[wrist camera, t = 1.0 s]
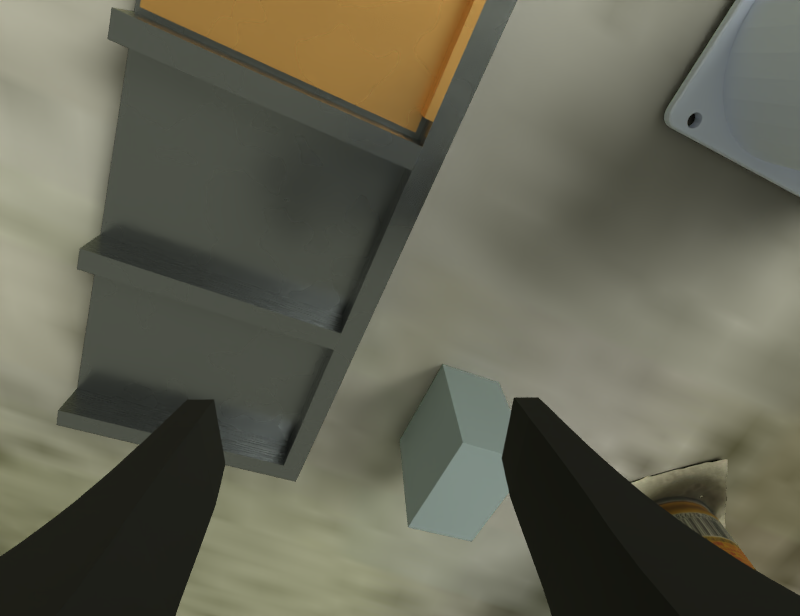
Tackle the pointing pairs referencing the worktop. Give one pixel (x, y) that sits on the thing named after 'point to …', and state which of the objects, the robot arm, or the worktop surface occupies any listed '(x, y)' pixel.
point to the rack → (263, 205)
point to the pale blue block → (455, 455)
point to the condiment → (696, 501)
